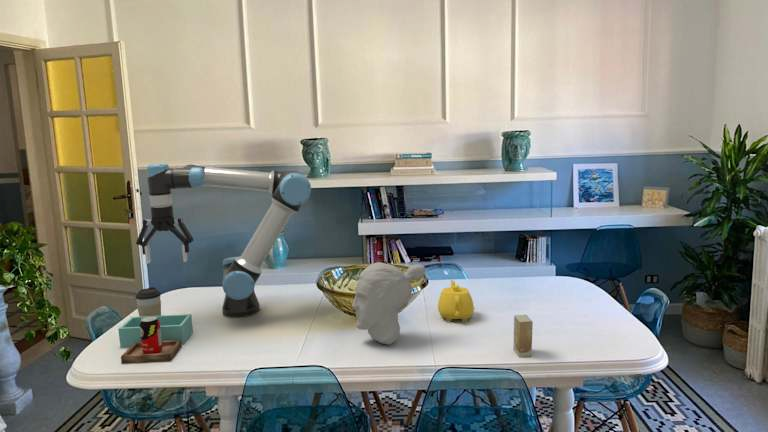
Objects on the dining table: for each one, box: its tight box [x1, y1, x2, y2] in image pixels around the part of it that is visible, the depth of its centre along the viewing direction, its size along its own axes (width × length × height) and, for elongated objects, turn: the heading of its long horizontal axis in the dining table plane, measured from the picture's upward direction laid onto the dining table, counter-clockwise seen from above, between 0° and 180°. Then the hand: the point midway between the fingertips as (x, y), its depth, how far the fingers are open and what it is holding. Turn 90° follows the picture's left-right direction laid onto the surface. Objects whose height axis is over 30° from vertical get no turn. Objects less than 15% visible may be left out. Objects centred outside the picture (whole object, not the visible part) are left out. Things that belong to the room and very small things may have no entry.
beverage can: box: [140, 316, 162, 354], centre depth 190 cm, size 6×6×12 cm
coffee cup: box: [135, 286, 162, 317], centre depth 217 cm, size 9×9×15 cm
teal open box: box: [118, 313, 194, 348], centre depth 204 cm, size 22×12×7 cm, turn 93°
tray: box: [120, 340, 183, 364], centre depth 191 cm, size 16×12×2 cm
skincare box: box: [513, 314, 534, 358], centre depth 183 cm, size 6×4×12 cm
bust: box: [351, 261, 426, 345], centre depth 196 cm, size 15×26×28 cm, turn 99°
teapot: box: [437, 279, 475, 323], centre depth 218 cm, size 14×20×13 cm
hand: (167, 262), depth 209 cm, fingers open, 13 cm apart
